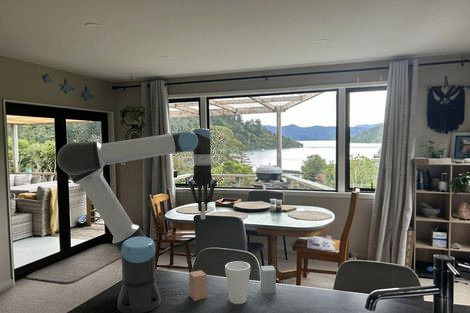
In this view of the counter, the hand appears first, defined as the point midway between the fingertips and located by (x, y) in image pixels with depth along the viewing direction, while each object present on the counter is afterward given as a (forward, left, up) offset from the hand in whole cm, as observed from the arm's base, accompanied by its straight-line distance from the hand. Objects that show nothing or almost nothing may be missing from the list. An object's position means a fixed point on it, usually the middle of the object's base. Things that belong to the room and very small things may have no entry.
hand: (202, 218), depth 142 cm
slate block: (+21, -21, -27) cm, 40 cm away
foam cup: (+7, -24, -27) cm, 37 cm away
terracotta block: (-6, -16, -26) cm, 32 cm away
